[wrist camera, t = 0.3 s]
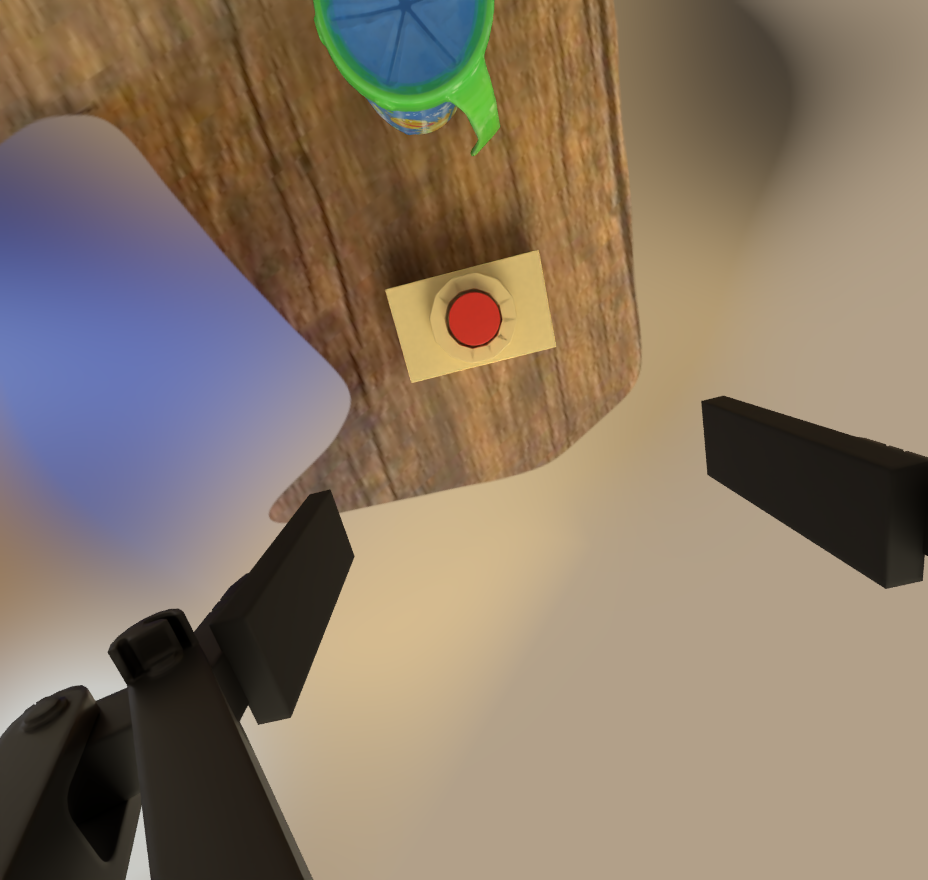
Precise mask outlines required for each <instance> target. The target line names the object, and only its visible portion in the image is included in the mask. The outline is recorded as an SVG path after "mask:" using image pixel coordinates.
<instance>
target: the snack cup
mask: <svg viewBox="0 0 928 880" xmlns="http://www.w3.org/2000/svg"><path fill="white" fill-rule="evenodd" d="M313 3H314V9H315V17H314V22H315V25H316V28H317V32H318V35H319V38H320V40H321V42H322V43H323V44H324V45H325V46H326V48H327V49H328V52H329V54H330V56H331V58H332V60H333V61H334V63H335V65H336V66H337V68H338V69H339V71H340V73H341V74H342V75H343V76H344V78H345V79H346V80H347V82H348V83H349V84H350V85H352V86H353V87H354V88H355V89H356V90H357V91H358V92H359V93H360V94H362V95H363V96H364V97H366V99H367V100H368V101H369V102H370V104H371V105H372V106H373V108H374V109H375V110H376V111H377V113H378V114H379V115H380V116H381V117H382V118H383V119H384V120H385V121H387V122H388V123H389V124H390V125H392V126H393V127H394V128H396V129H398V130H399V131H402V132H404V133H406V134H408V135H412V134H417V135H420V134H426V133H430V132H433V131H435V130H437V129H439V128H441V127H442V126H443V125H445V124H446V123H447V122H448V121H449V120H450V119H451V117H452V116H453V115H454V114H455V112H456V110H457V108H460V109H461V110H462V111H463V112H464V113H465V114H466V115H467V117H468V119H469V121H470V124H471V126H472V127H473V129H474V131H475V133H476V135H477V138H478V141H477V143H476V145H475V146H474V147H473V149H472V150H471V155H472V156H475V155H476V154H477V153H478V152H479V151H480V150H481V149H482V148H483V147H484V146H485V145H486V143H487V142H488V141H489V140H490V139H491V138H492V137H493V135H494V134H495V133H496V132H497V131H498V129H499V128H500V122H499V117H498V111H497V104H496V99H495V96H494V91H493V87H492V84H491V80H490V76H489V73H488V70H487V67H486V64H485V59H484V54H485V50H486V47H487V44H488V41H489V37H490V32H491V27H492V22H493V13H494V0H313Z"/></svg>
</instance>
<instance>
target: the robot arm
mask: <svg viewBox="0 0 928 880" xmlns="http://www.w3.org/2000/svg"><path fill="white" fill-rule="evenodd" d="M701 403H702V414H703V427H704V438H705V450H706V462H707V474H708V475H709V476H710V477H712V478H714V479H715V480H717V481H718V482H720V483H721V484H723V485H724V486H726V487H727V488H729V489H731V490H732V491H734V492H735V493H737V494H738V495H740V496H742V497H743V498H745V499H746V500H748V501H749V502H751V503H753V504H754V505H756V506H757V507H759V508H760V509H762V510H764V511H765V512H766V513H768V514H770V515H771V516H773V517H774V518H776V519H778V520H779V521H781V522H782V523H784V524H785V525H787V526H788V527H790V528H791V529H793V530H795V531H796V532H798V533H799V534H801V535H803V536H804V537H806V538H807V539H809V540H810V541H812V542H813V543H815V544H816V545H818V546H820V547H821V548H823V549H825V550H826V551H827V552H829V553H831V554H832V555H834V556H835V557H837V558H838V559H840V560H842V561H843V562H845V563H846V564H848V565H849V566H851V567H853V568H854V569H856V570H857V571H859V572H860V573H862V574H863V575H865V576H866V577H868V578H870V579H871V580H873V581H874V582H876V583H877V584H879V585H881V586H882V587H884V588H885V589H887V588H892V587H897V586H901V585H906V584H910V583H915V582H920V581H923V570H924V557H925V555H927V556H928V457H925V456H922V455H918V454H916V453H912V452H909V451H905V452H904V451H903V450H902V449H899V448H896V447H893V446H886V444H883V443H880V442H876V441H873V440H870V439H867V438H861V437H855V436H851V435H848V434H845V433H842V432H838V431H836V430H832V429H829V428H826V427H823V426H819V425H816V424H813V423H810V422H807V421H803V420H800V419H797V418H793V417H791V416H787V415H784V414H781V413H778V412H775V411H771V410H768V409H765V408H761V407H758V406H755V405H752V404H749V403H745V402H742V401H739V400H736V399H733V398H730V397H726V396H721V397H716V398H713V399H708V400H704V401H702V402H701ZM353 559H354V554H353V551H352V548H351V545H350V543H349V540H348V537H347V534H346V531H345V529H344V526H343V523H342V520H341V517H340V515H339V512H338V509H337V506H336V503H335V501H334V498H333V495H332V492H331V490H326V491H322V492H318V493H314V494H310V495H309V496H308V497H307V499H306V500H305V501H304V502H303V504H302V505H301V506H300V508H299V509H298V510H297V512H296V513H295V514H294V515H293V517H292V518H291V519H290V521H289V522H288V523H287V524H286V526H285V527H284V528H283V530H282V531H281V532H280V534H279V535H278V536H277V537H276V539H275V540H274V541H273V543H272V544H271V545H270V547H269V548H268V549H267V550H266V552H265V553H264V554H263V556H262V557H261V558H260V559H259V561H258V562H257V564H256V565H255V566H254V567H253V569H252V570H251V571H250V572H249V573H247V574H245V575H244V576H243V577H242V578H240V579H239V580H238V581H237V582H235V583H234V584H233V585H232V586H230V588H229V589H228V590H227V591H226V593H225V594H224V595H223V596H222V598H221V599H220V600H221V601H219V602H218V603H217V604H216V605H215V607H214V608H213V609H212V612H210V613H209V614H208V615H207V616H206V618H205V619H204V620H203V622H202V623H201V624H200V625H199V626H198V628H197V629H196V630H195V631H194V632H193V630H192V628H191V626H190V624H189V622H188V620H187V618H186V616H185V614H184V612H183V611H182V610H180V609H168V610H165V611H161V612H158V613H156V614H154V615H151V616H149V617H147V618H145V619H143V620H141V621H139V622H138V623H136V624H134V625H133V626H131V627H130V628H128V629H127V630H126V631H125V632H123V633H122V634H121V635H120V636H118V637H117V638H116V639H115V641H114V642H113V643H112V644H111V645H110V648H109V650H108V654H109V655H110V657H111V659H112V660H113V662H114V664H115V665H116V667H117V669H118V671H119V672H120V674H121V676H122V677H123V679H124V681H125V682H126V684H127V688H125V689H123V690H120V691H118V692H116V693H114V694H111V695H109V696H106V697H104V698H102V699H99V700H97V701H95V700H94V698H93V696H92V695H91V693H90V692H89V690H88V689H87V688H86V687H84V686H83V685H80V686H72V687H69V688H67V689H64V690H62V691H59V692H56V693H55V694H53V695H51V696H49V697H45V698H43V699H41V700H40V701H38V702H36V705H32V706H31V707H29V708H28V709H27V710H25V712H24V713H23V714H22V715H21V716H20V717H19V718H17V719H16V720H15V721H14V722H13V723H12V724H11V725H10V726H9V727H8V728H7V730H6V731H5V732H4V733H3V734H2V736H1V738H0V880H125V879H126V874H127V870H128V865H129V861H130V855H131V851H132V847H133V842H134V837H135V833H136V828H137V824H138V819H139V815H140V810H141V805H142V811H143V819H144V827H145V835H146V844H147V852H148V860H149V868H150V876H151V880H313V878H312V877H311V874H310V872H309V870H308V867H307V865H306V863H305V861H304V859H303V857H302V855H301V852H300V850H299V848H298V846H297V844H296V842H295V839H294V837H293V835H292V833H291V831H290V828H289V826H288V824H287V822H286V820H285V818H284V816H283V813H282V811H281V809H280V807H279V805H278V803H277V800H276V798H275V796H274V794H273V792H272V789H271V787H270V785H269V783H268V781H267V779H266V776H265V774H264V772H263V770H262V768H261V766H260V763H259V761H258V759H257V757H256V755H255V753H254V750H253V748H252V746H251V744H250V742H249V740H248V737H247V735H246V733H245V731H244V729H243V727H242V725H241V723H240V720H241V717H242V716H243V713H244V712H245V710H246V708H247V706H248V705H249V707H250V709H251V711H252V713H253V715H254V717H255V719H256V721H257V723H258V725H259V724H264V723H268V722H273V721H278V720H282V719H287V718H291V716H292V714H293V711H294V708H295V706H296V703H297V701H298V698H299V696H300V693H301V691H302V688H303V685H304V683H305V681H306V678H307V676H308V673H309V670H310V668H311V665H312V663H313V660H314V658H315V655H316V653H317V650H318V648H319V645H320V643H321V640H322V638H323V635H324V632H325V630H326V627H327V625H328V622H329V620H330V617H331V615H332V612H333V610H334V607H335V604H336V602H337V600H338V597H339V594H340V592H341V589H342V587H343V584H344V582H345V579H346V577H347V574H348V572H349V569H350V566H351V564H352V562H353Z"/></svg>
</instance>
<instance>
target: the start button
mask: <svg viewBox="0 0 928 880" xmlns="http://www.w3.org/2000/svg"><path fill="white" fill-rule="evenodd" d="M499 324H500V313H499V309H498V307H497V305H496V303H495V302H494V301H493V300H492V299H491V298H490V297H489V296H487V295H485V294H483V293H479V292H470V293H466V294H464V295H462V296H460V297H459V298H458V299H457V300H456V301H455V302H454V303H453V305H452V307H451V309H450V312H449V326H450V329H451V331H452V333H453V334H454V336H455V337H456V338H457V339H458V340H459V341H461V342H463V343H465V344H467V345H481V344H484V343H486V342H488V341H489V340H490V339H492V338H493V336H494V335H495V334H496V332H497V330H498V328H499Z"/></svg>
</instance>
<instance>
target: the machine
mask: <svg viewBox="0 0 928 880" xmlns="http://www.w3.org/2000/svg"><path fill="white" fill-rule="evenodd" d="M385 291H386V295H387V298H388V302H389V305H390V309H391V312H392V316H393V320H394V323H395V327H396V330H397V334H398V337H399V341H400V344H401V348H402V352H403V355H404V359H405V362H406V366H407V369H408V373H409V376H410V380H411V383H413V382H417V381H421V380H425V379H429V378H433V377H437V376H441V375H445V374H449V373H453V372H457V371H461V370H465V369H469V368H473V367H477V366H481V365H485V364H489V363H493V362H497V361H501V360H505V359H509V358H513V357H517V356H521V355H525V354H529V353H533V352H537V351H541V350H545V349H549V348H553V347H556V343H555V337H554V332H553V326H552V320H551V315H550V309H549V304H548V298H547V293H546V287H545V282H544V276H543V271H542V265H541V260H540V254H539V250H535V251H531V252H527V253H523V254H520V255H516V256H512V257H508V258H504V259H500V260H496V261H493V262H489V263H485V264H481V265H477V266H473V267H470V268H466V269H462V270H458V271H454V272H450V273H447V274H443V275H439V276H435V277H431V278H427V279H423V280H420V281H416V282H412V283H408V284H404V285H400V286H397V287H393V288H389V289H386V290H385ZM470 292H479V293H483V294H485V295H487V296H489V297H490V298H491V299H492V300H493V301H494V302H495V303H496V305H497V307H498V309H499V313H500V324H499V328H498V330H497V332H496V334H495V335H494V336H493V338H492V339H490V340H489V341H488V342H486V343H484V344H481V345H467V344H465V343H463V342H461V341H459V340H458V339H457V338H456V337H455V336H454V334H453V333H452V331H451V329H450V326H449V312H450V309H451V307H452V305H453V303H454V302H455V301H456V300H457V299H458V298H459V297H460V296H462V295H464V294H466V293H470Z"/></svg>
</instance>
